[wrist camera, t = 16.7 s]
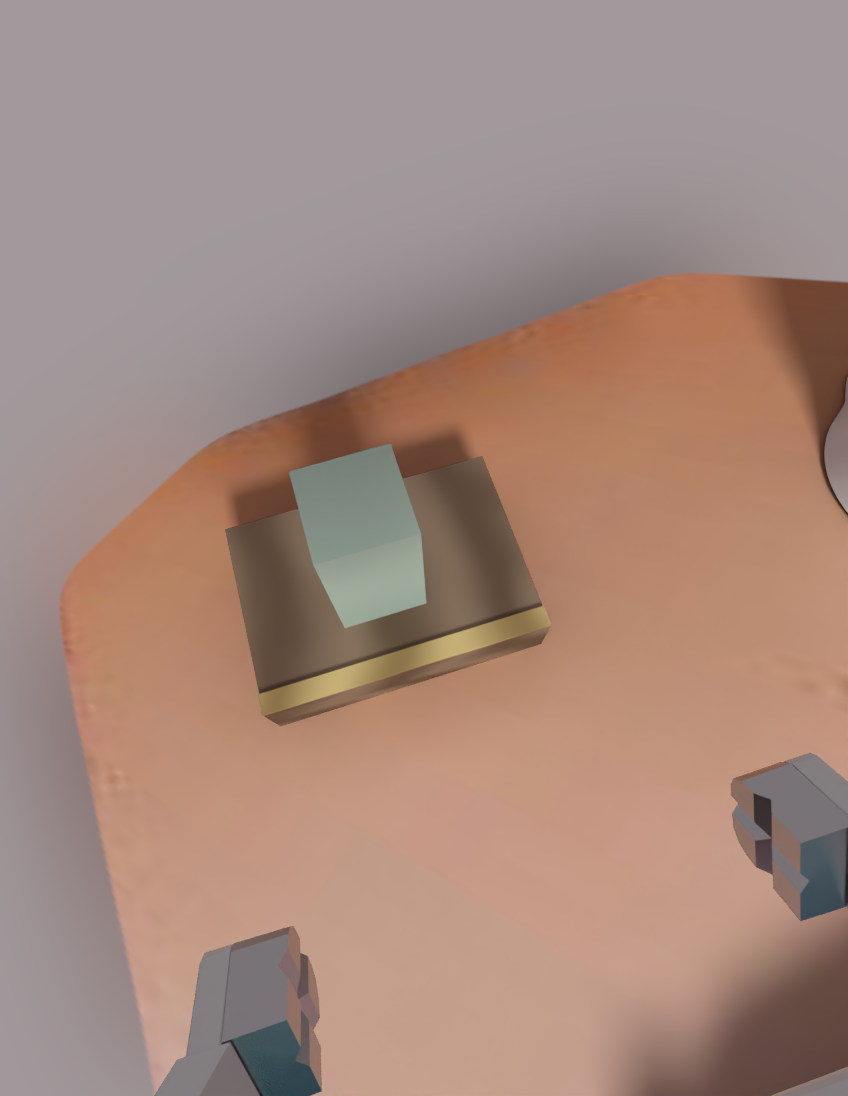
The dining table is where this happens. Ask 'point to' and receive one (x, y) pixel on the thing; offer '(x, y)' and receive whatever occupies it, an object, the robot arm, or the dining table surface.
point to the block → (362, 534)
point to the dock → (397, 639)
